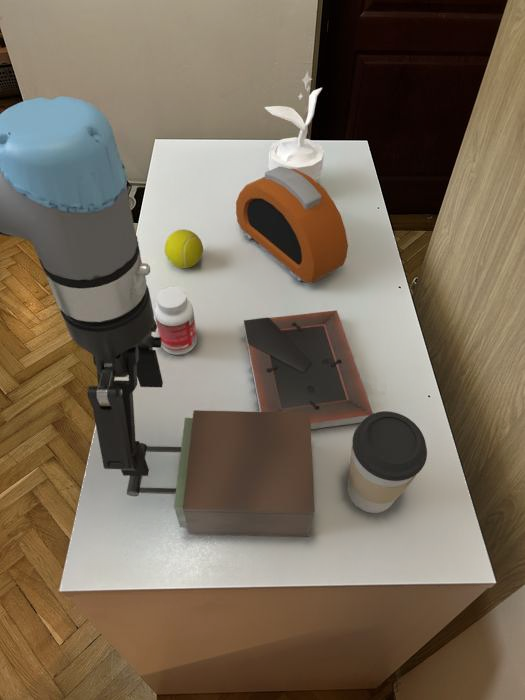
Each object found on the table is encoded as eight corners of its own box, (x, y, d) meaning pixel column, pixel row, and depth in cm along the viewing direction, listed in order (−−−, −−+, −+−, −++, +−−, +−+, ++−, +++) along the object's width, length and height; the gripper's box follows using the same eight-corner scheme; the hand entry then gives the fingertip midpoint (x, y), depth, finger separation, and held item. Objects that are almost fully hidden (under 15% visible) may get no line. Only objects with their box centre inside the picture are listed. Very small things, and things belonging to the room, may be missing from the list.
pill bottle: (199, 352, 89) (194, 307, 81) (163, 359, 88) (153, 314, 80) (194, 325, 93) (188, 280, 84) (159, 331, 92) (149, 285, 83)
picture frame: (243, 329, 93) (264, 437, 79) (243, 320, 91) (264, 428, 77) (335, 318, 95) (370, 422, 81) (337, 309, 93) (373, 413, 79)
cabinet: (189, 534, 70) (182, 508, 63) (198, 441, 79) (193, 410, 72) (308, 537, 70) (314, 511, 63) (305, 444, 79) (310, 412, 72)
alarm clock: (234, 230, 110) (232, 156, 96) (268, 213, 113) (270, 140, 100) (310, 294, 98) (319, 220, 85) (345, 273, 102) (359, 200, 89)
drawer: (128, 526, 70) (117, 505, 64) (143, 441, 78) (135, 416, 72) (290, 529, 70) (294, 509, 64) (289, 444, 78) (292, 419, 72)
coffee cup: (405, 466, 77) (432, 411, 65) (402, 527, 71) (432, 478, 59) (343, 454, 78) (359, 398, 66) (335, 513, 72) (351, 462, 60)
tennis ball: (160, 264, 103) (154, 236, 97) (184, 246, 106) (180, 217, 101) (186, 280, 100) (183, 251, 95) (211, 260, 104) (208, 232, 98)
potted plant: (317, 176, 122) (329, 63, 102) (321, 207, 115) (335, 91, 95) (262, 176, 122) (264, 62, 102) (263, 207, 114) (265, 91, 95)
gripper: (123, 413, 38) (163, 526, 55) (165, 209, 52) (186, 348, 69) (17, 411, 38) (90, 524, 55) (89, 207, 52) (129, 347, 69)
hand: (144, 426), depth 62 cm, fingers open, 11 cm apart
